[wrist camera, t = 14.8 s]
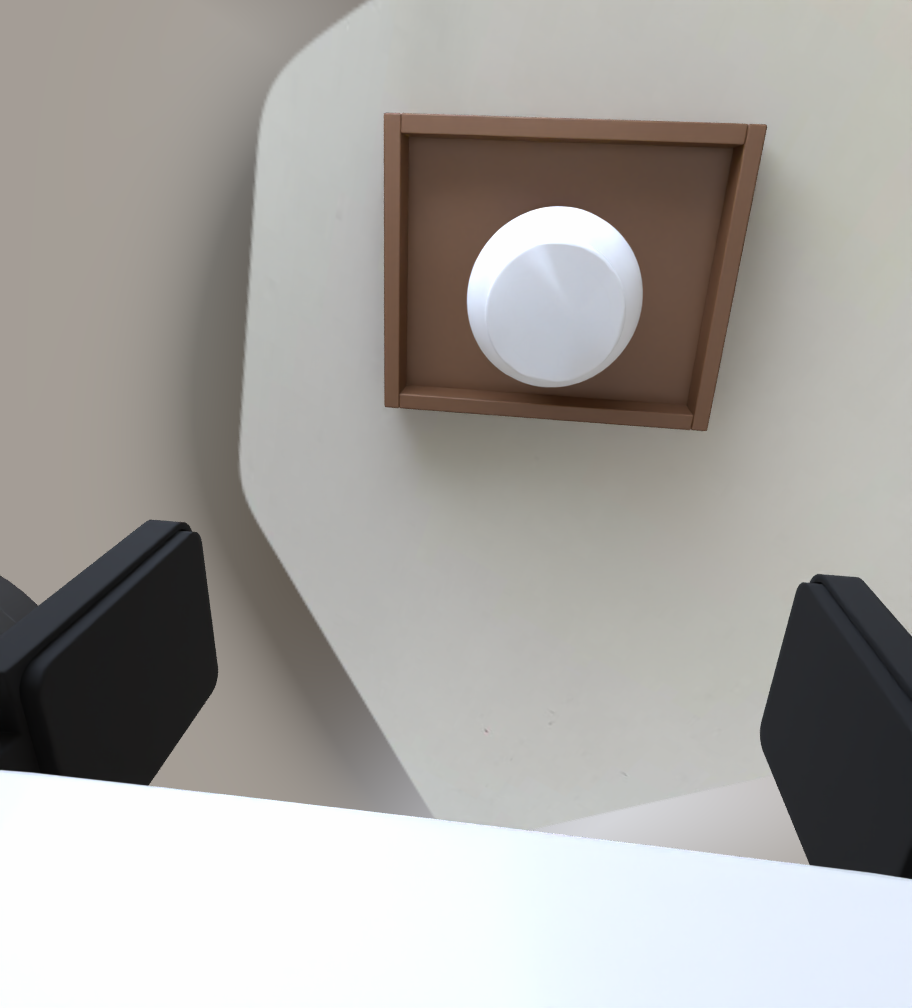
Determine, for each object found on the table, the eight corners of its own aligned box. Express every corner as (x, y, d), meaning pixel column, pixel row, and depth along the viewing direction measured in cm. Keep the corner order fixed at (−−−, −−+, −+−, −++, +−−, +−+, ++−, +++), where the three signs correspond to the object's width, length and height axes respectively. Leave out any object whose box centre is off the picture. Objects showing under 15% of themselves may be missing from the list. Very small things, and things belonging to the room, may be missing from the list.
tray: (394, 395, 38) (384, 407, 36) (395, 119, 33) (383, 112, 31) (697, 417, 37) (707, 431, 34) (751, 130, 31) (768, 124, 29)
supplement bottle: (567, 370, 36) (575, 449, 24) (461, 299, 35) (417, 346, 24) (648, 256, 33) (700, 283, 22) (535, 177, 33) (527, 161, 21)
